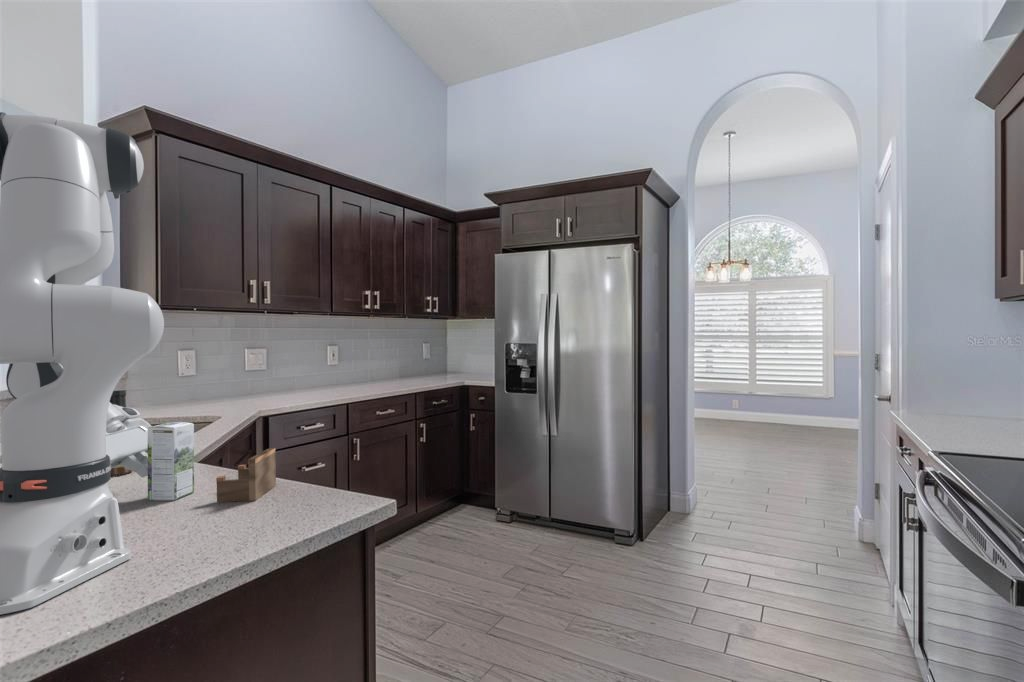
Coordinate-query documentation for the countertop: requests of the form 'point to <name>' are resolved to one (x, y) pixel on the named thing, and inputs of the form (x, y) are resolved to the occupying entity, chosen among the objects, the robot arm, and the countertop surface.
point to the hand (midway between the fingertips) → (150, 473)
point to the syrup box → (170, 461)
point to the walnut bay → (249, 479)
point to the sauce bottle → (120, 400)
